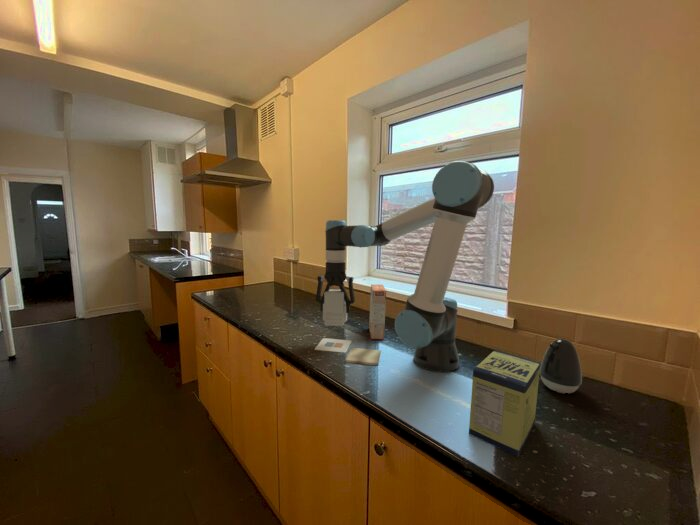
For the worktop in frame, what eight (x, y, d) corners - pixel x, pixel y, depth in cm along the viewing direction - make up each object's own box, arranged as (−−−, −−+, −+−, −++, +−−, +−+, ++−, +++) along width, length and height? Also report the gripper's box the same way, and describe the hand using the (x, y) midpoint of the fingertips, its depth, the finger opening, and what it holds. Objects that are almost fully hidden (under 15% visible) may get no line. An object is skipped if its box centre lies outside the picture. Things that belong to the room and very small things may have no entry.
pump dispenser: (529, 383, 91) (534, 335, 90) (553, 378, 95) (558, 331, 93) (563, 401, 82) (569, 347, 80) (588, 394, 86) (594, 343, 84)
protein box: (535, 423, 72) (541, 361, 71) (519, 458, 61) (526, 386, 59) (489, 405, 79) (494, 348, 77) (467, 434, 68) (472, 368, 66)
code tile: (351, 341, 122) (351, 340, 122) (345, 352, 110) (345, 352, 110) (323, 338, 124) (323, 338, 124) (314, 349, 112) (314, 349, 112)
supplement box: (345, 320, 119) (345, 289, 118) (343, 326, 112) (343, 293, 111) (327, 319, 120) (327, 288, 119) (323, 325, 113) (323, 292, 111)
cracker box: (384, 340, 124) (386, 290, 122) (370, 339, 124) (371, 290, 122) (382, 328, 138) (383, 284, 136) (368, 328, 138) (370, 283, 136)
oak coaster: (380, 352, 111) (380, 350, 111) (377, 365, 101) (378, 363, 100) (351, 349, 113) (351, 347, 113) (345, 362, 103) (345, 359, 102)
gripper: (363, 261, 115) (362, 319, 118) (312, 259, 119) (312, 315, 121) (360, 263, 108) (359, 324, 110) (306, 261, 112) (306, 321, 114)
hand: (335, 320), depth 116 cm, fingers closed on supplement box, 8 cm apart
